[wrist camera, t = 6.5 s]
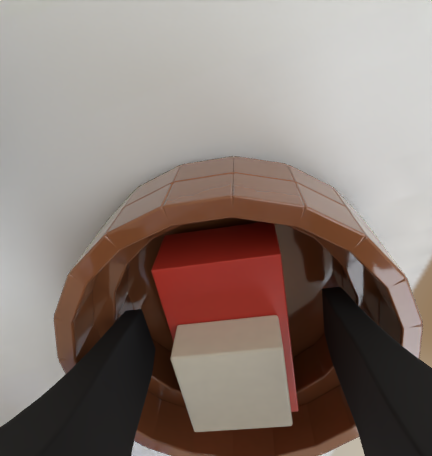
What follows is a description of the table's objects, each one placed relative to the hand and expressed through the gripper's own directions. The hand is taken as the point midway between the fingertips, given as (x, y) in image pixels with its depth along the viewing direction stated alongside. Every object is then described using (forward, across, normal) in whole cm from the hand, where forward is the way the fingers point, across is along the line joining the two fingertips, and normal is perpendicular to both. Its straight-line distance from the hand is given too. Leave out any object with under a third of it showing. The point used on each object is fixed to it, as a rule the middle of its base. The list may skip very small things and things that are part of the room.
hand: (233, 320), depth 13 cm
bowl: (+2, 0, 0) cm, 2 cm away
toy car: (+2, 0, 0) cm, 2 cm away
